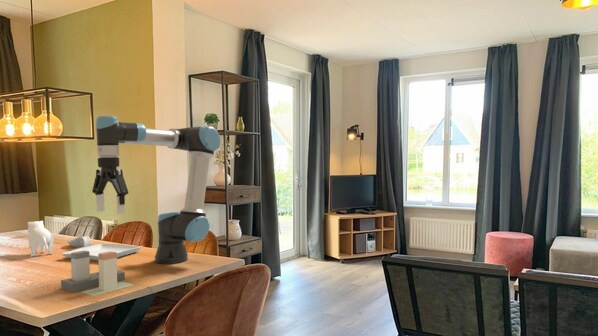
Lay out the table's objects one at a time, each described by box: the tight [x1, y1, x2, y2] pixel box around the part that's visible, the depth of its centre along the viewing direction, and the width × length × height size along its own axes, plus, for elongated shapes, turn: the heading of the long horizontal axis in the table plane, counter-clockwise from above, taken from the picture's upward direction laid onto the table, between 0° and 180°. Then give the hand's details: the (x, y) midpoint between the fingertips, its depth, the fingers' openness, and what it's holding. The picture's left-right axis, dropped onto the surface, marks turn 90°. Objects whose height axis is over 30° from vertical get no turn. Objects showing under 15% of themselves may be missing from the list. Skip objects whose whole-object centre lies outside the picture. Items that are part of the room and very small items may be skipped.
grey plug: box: [70, 250, 91, 282], centre depth 158 cm, size 5×4×13 cm
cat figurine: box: [23, 220, 55, 258], centre depth 221 cm, size 25×10×17 cm, turn 47°
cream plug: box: [98, 251, 118, 291], centre depth 156 cm, size 5×4×13 cm
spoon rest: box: [66, 235, 93, 248], centre depth 239 cm, size 24×12×7 cm, turn 43°
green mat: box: [81, 281, 134, 297], centre depth 157 cm, size 16×8×1 cm, turn 144°
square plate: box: [60, 243, 143, 262], centre depth 217 cm, size 27×27×4 cm
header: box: [60, 269, 126, 294], centre depth 162 cm, size 20×9×4 cm, turn 144°
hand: (110, 212), depth 164 cm, fingers open, 13 cm apart
